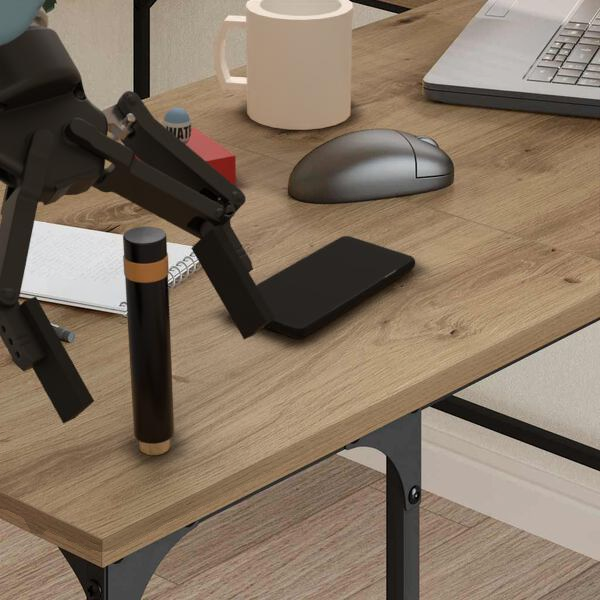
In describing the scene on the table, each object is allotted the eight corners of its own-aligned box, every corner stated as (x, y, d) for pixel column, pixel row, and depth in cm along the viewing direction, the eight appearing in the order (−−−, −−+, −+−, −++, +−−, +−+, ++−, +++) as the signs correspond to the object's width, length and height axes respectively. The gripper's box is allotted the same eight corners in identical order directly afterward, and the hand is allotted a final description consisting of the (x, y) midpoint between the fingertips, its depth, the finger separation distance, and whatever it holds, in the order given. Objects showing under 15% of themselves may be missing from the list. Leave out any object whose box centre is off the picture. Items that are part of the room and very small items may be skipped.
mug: (202, 123, 136) (199, 14, 131) (227, 89, 145) (225, -14, 140) (341, 133, 134) (343, 22, 129) (358, 98, 142) (361, -6, 138)
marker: (147, 463, 83) (136, 247, 77) (126, 445, 85) (113, 232, 79) (183, 450, 85) (175, 236, 78) (162, 432, 86) (152, 222, 80)
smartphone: (419, 257, 107) (300, 331, 96) (418, 267, 107) (300, 342, 96) (344, 233, 110) (222, 302, 100) (344, 243, 111) (222, 313, 100)
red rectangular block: (235, 186, 122) (234, 116, 119) (163, 200, 119) (160, 129, 116) (195, 156, 128) (193, 89, 125) (125, 169, 125) (122, 101, 122)
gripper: (133, 47, 94) (293, 322, 91) (-217, 139, 78) (-35, 476, 75) (184, -18, 88) (356, 273, 86) (-183, 67, 72) (16, 428, 70)
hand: (174, 369), depth 80 cm, fingers open, 13 cm apart
